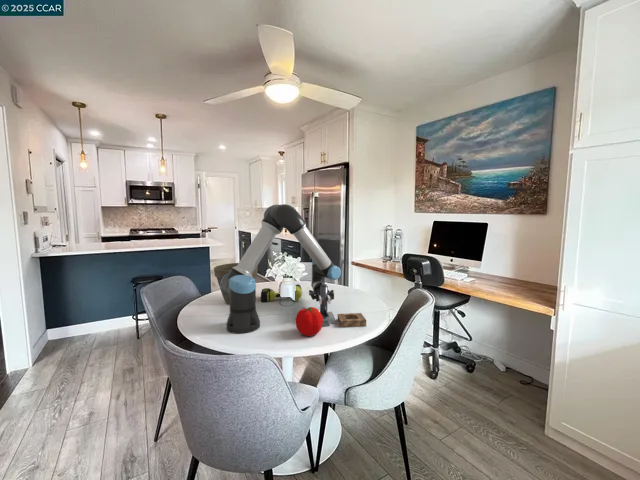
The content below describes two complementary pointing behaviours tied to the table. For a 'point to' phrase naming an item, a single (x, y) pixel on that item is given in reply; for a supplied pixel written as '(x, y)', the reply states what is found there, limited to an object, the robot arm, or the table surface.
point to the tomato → (309, 321)
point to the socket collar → (328, 318)
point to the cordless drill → (270, 294)
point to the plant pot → (225, 269)
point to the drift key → (325, 325)
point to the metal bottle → (324, 298)
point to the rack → (351, 320)
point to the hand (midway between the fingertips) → (325, 301)
